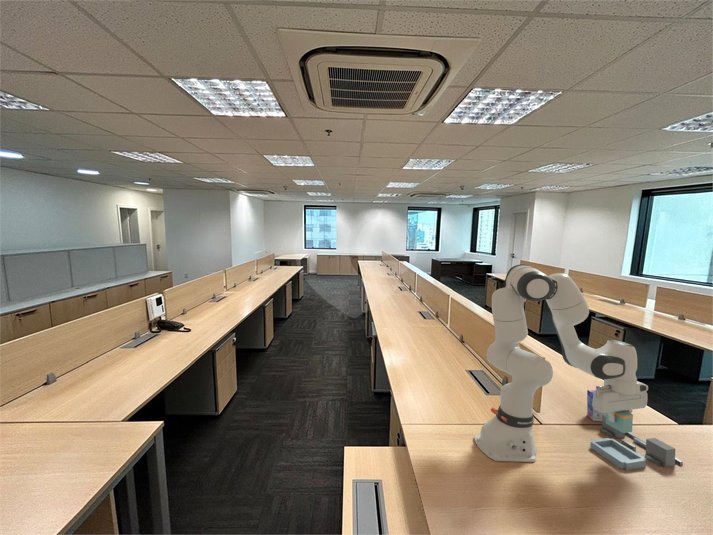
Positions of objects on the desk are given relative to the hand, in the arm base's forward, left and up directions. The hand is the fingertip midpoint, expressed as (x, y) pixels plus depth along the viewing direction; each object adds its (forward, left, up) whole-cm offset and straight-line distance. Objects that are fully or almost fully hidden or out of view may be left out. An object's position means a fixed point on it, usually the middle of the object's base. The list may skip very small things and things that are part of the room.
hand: (618, 420), depth 103 cm
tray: (0, 0, -14) cm, 14 cm away
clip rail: (+13, +4, -14) cm, 19 cm away
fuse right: (+13, -4, -14) cm, 19 cm away
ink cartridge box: (+19, +21, -14) cm, 32 cm away
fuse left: (+13, +12, -14) cm, 22 cm away
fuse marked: (0, 0, -3) cm, 3 cm away
